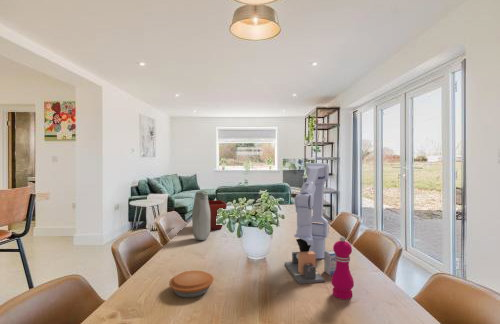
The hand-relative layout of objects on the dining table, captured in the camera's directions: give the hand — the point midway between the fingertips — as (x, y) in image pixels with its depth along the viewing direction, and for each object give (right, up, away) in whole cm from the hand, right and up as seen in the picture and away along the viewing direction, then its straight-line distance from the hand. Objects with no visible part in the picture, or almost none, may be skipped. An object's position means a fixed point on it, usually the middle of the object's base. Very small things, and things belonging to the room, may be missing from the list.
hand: (304, 257), depth 113 cm
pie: (-43, -8, -13) cm, 45 cm away
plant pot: (-48, -6, +74) cm, 89 cm away
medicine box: (+13, -7, +1) cm, 15 cm away
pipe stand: (0, -7, +2) cm, 7 cm away
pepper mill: (+10, -7, -17) cm, 21 cm away
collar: (0, -5, -3) cm, 5 cm away
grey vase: (-50, -6, +48) cm, 69 cm away
